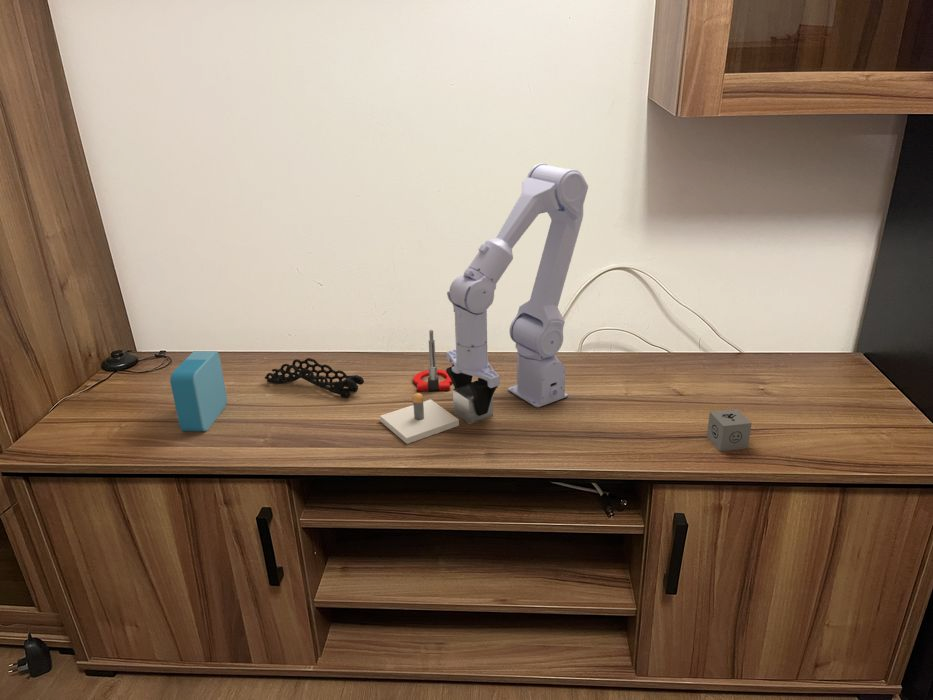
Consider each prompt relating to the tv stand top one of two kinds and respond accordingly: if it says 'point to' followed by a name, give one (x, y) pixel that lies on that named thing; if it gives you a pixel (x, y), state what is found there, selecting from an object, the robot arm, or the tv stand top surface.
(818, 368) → the tv stand top surface
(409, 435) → the plate
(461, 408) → the hollow square tube
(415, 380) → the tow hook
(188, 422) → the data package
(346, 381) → the decorative element
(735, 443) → the dice cube
